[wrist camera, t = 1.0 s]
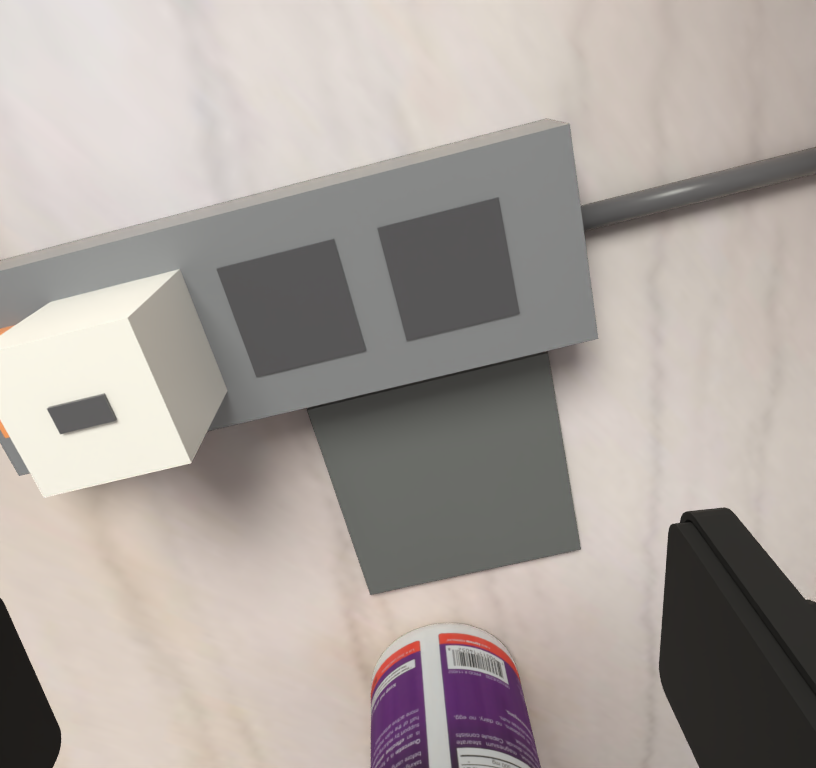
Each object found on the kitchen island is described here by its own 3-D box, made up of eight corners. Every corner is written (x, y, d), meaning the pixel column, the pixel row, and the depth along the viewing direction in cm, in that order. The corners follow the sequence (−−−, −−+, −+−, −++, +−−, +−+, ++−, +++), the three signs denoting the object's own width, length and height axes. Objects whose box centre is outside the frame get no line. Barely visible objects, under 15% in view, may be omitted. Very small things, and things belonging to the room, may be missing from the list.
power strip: (875, 33, 25) (963, 24, 21) (866, 240, 28) (942, 265, 25) (-32, 268, 28) (-98, 298, 24) (56, 435, 31) (10, 485, 27)
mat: (545, 349, 30) (547, 353, 30) (578, 544, 34) (580, 549, 34) (308, 406, 31) (307, 410, 30) (370, 589, 35) (370, 594, 35)
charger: (179, 269, 24) (125, 319, 19) (227, 390, 26) (190, 465, 21) (50, 302, 25) (-37, 359, 20) (107, 419, 27) (41, 500, 22)
